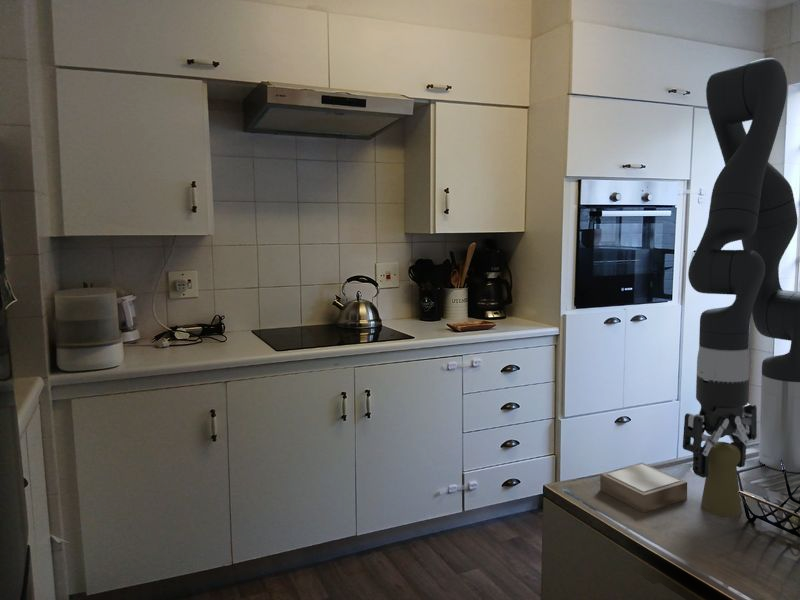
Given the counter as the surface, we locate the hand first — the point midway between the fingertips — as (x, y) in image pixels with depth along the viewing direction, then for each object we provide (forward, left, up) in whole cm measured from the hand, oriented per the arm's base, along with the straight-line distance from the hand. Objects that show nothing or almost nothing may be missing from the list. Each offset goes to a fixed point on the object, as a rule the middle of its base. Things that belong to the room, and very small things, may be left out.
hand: (719, 470), depth 101 cm
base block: (+7, -10, -6) cm, 13 cm away
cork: (0, 0, -7) cm, 7 cm away
